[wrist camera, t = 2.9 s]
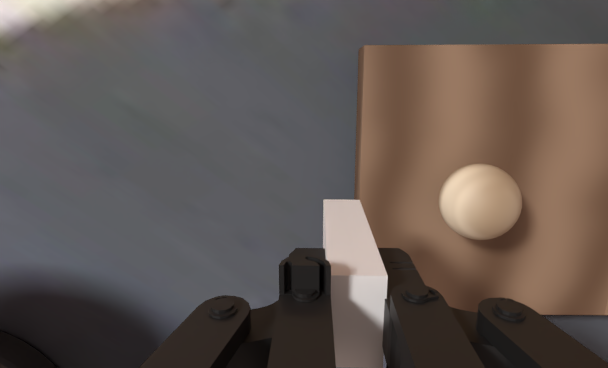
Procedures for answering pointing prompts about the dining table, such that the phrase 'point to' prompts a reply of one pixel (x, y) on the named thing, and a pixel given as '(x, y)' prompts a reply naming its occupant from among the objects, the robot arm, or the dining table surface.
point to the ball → (480, 201)
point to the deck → (497, 152)
